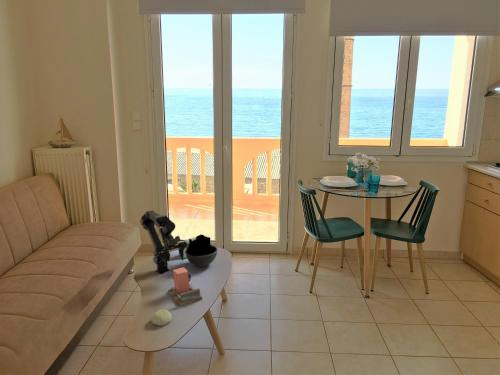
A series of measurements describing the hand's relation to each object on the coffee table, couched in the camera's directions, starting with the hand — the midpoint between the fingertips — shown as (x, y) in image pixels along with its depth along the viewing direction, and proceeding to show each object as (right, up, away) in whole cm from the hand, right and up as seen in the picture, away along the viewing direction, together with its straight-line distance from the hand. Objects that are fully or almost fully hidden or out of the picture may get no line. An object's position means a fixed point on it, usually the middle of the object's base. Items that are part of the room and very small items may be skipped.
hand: (175, 262), depth 213 cm
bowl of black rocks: (+12, -7, +26) cm, 29 cm away
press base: (+7, -15, -10) cm, 20 cm away
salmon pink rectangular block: (+5, -13, -8) cm, 16 cm away
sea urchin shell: (0, -21, -33) cm, 39 cm away
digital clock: (+3, -3, +43) cm, 43 cm away
